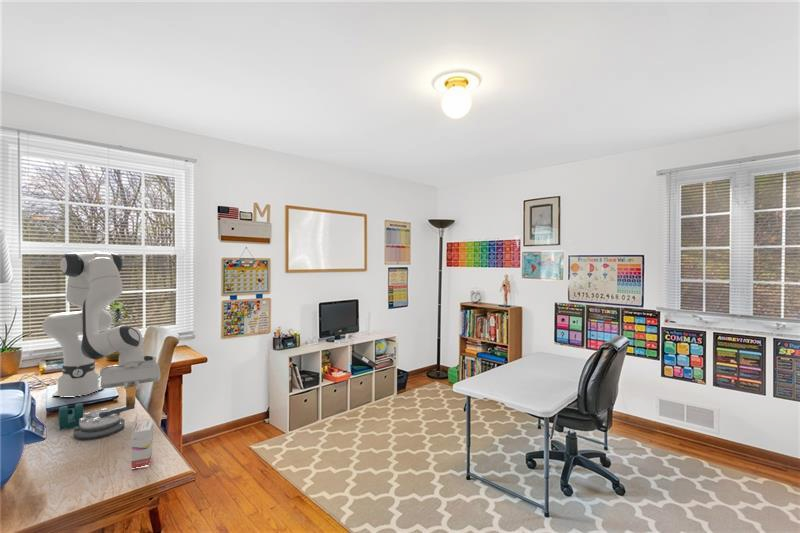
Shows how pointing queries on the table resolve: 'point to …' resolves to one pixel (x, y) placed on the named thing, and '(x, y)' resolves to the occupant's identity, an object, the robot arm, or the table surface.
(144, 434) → the ink cartridge box
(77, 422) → the bracket
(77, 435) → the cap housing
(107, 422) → the lugged valve handwheel
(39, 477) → the table surface
